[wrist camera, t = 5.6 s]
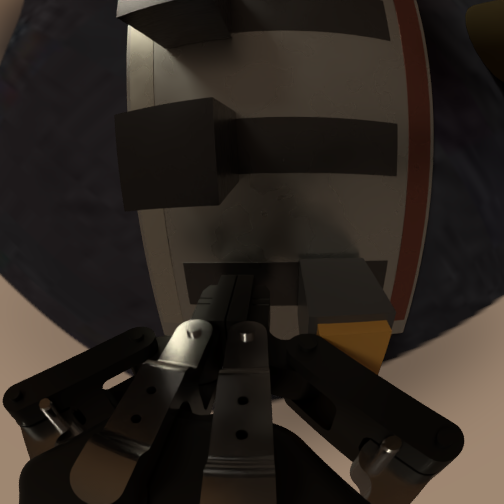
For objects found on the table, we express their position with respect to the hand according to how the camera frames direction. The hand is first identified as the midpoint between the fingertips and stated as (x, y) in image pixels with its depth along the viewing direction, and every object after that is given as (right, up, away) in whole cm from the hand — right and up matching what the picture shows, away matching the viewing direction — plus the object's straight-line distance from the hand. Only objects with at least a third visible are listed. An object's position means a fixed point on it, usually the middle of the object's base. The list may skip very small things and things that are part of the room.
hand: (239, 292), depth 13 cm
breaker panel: (+2, +7, 0) cm, 7 cm away
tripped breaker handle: (+4, 0, 0) cm, 4 cm away
